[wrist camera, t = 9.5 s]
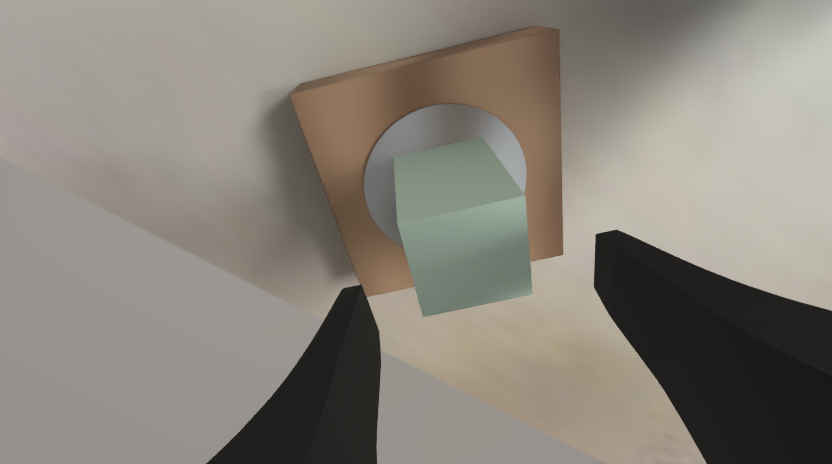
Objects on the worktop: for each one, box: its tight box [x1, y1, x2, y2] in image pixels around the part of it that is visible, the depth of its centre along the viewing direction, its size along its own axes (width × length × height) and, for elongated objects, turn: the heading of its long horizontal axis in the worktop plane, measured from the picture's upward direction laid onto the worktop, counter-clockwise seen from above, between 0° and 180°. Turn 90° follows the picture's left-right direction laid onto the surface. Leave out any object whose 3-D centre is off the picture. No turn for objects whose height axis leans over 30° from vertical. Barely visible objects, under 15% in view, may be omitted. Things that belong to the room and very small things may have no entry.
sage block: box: [393, 137, 532, 317], centre depth 15 cm, size 4×4×6 cm
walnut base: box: [289, 26, 563, 297], centre depth 19 cm, size 11×11×3 cm
